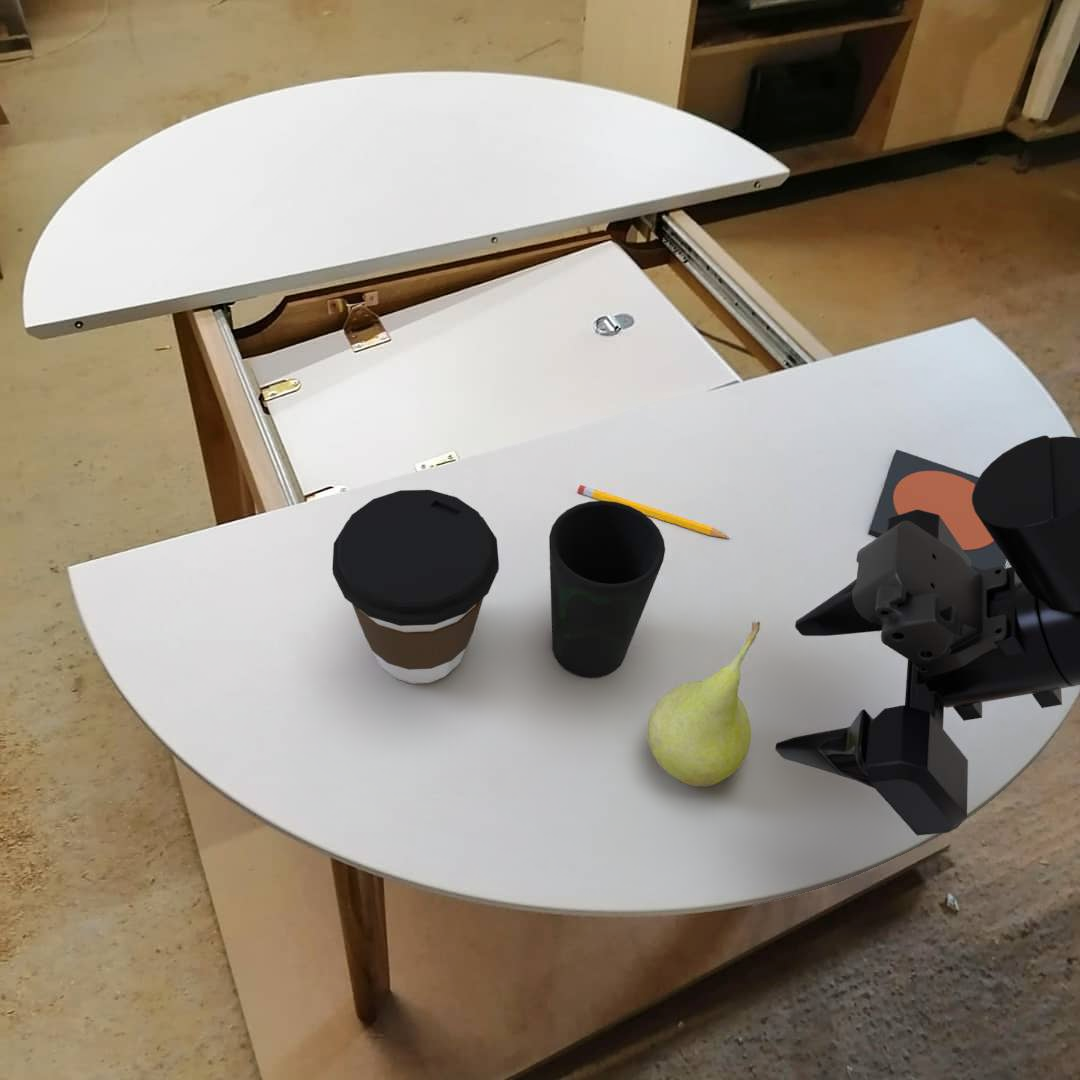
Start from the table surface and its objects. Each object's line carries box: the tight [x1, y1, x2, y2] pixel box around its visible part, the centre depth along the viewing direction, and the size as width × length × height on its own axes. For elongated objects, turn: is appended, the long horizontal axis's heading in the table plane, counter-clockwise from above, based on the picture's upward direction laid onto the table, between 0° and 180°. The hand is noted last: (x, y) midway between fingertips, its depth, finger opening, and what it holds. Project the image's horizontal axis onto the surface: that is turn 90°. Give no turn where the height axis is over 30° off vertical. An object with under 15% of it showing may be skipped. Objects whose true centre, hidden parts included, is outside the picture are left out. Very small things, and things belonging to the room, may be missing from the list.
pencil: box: [577, 484, 731, 539], centre depth 84 cm, size 1×13×1 cm, turn 69°
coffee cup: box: [331, 489, 500, 685], centre depth 70 cm, size 11×11×12 cm
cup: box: [548, 500, 666, 679], centre depth 71 cm, size 8×8×12 cm
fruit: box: [646, 620, 761, 787], centre depth 65 cm, size 7×8×12 cm
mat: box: [867, 449, 1007, 569], centre depth 87 cm, size 11×11×1 cm
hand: (788, 687), depth 61 cm, fingers open, 9 cm apart
